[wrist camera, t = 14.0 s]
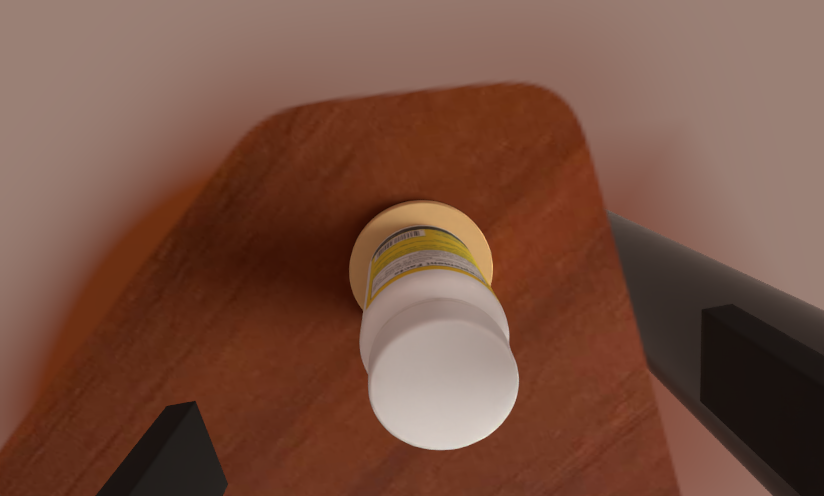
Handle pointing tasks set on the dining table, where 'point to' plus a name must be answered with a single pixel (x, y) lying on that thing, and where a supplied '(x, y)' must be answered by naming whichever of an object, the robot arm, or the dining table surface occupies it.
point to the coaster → (410, 216)
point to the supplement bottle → (435, 342)
